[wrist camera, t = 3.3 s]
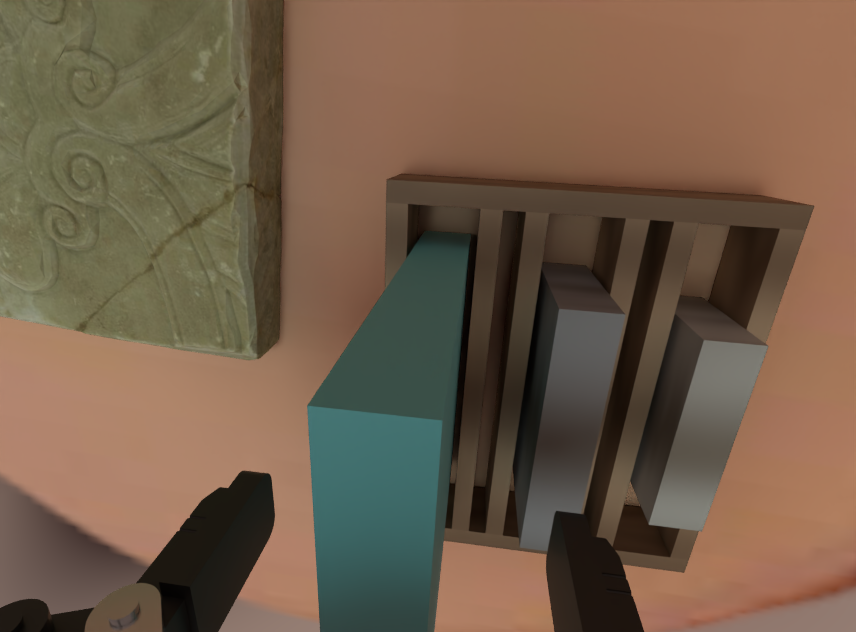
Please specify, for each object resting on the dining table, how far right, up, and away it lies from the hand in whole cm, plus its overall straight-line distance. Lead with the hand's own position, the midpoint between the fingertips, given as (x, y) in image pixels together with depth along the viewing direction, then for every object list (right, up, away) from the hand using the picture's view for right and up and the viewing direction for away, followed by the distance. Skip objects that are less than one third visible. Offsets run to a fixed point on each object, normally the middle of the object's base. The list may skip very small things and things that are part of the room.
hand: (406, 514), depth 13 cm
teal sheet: (+1, +4, +9) cm, 10 cm away
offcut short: (+11, +3, +8) cm, 14 cm away
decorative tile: (-15, +15, +8) cm, 22 cm away
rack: (+6, +3, +9) cm, 11 cm away
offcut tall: (+6, +3, +9) cm, 11 cm away
